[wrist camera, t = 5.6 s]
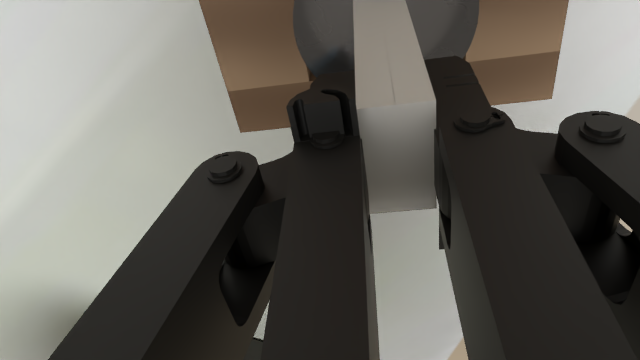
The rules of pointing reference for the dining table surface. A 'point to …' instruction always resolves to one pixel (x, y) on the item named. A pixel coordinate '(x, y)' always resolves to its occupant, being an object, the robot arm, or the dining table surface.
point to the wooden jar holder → (295, 77)
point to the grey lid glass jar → (338, 30)
